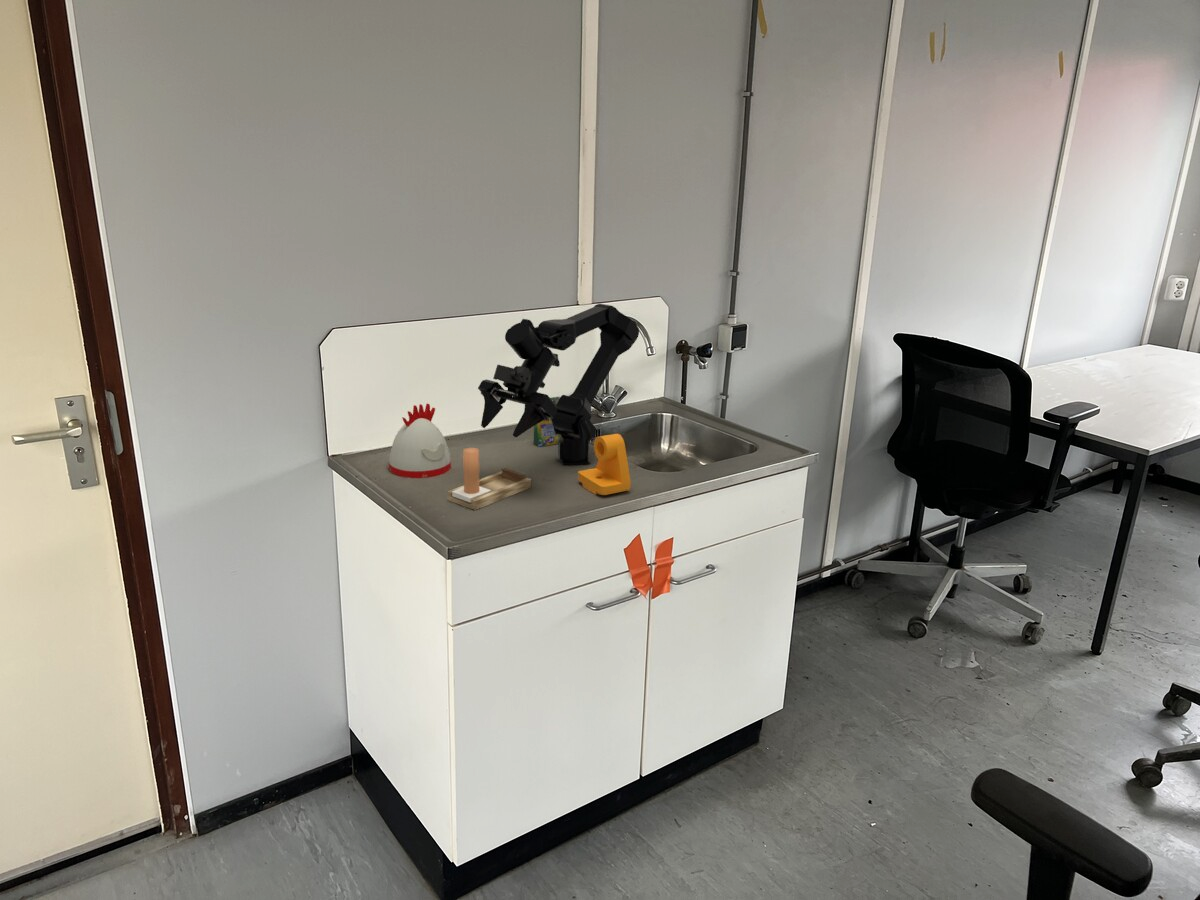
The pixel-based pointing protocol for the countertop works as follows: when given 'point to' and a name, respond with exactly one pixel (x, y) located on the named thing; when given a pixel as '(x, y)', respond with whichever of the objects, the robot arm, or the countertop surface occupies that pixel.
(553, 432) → the crayon box
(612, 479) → the bracket
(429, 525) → the countertop surface
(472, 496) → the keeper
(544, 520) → the countertop surface
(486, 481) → the wooden tray
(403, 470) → the kitchen timer
